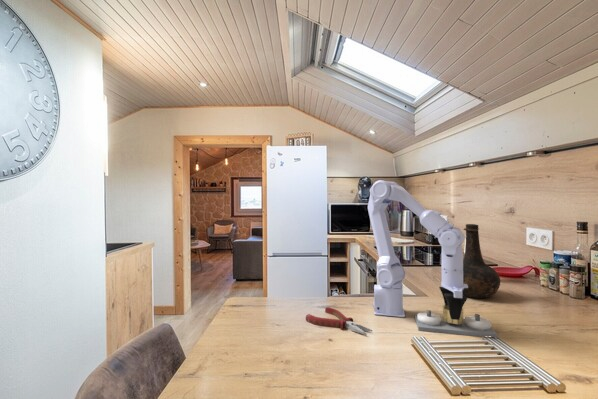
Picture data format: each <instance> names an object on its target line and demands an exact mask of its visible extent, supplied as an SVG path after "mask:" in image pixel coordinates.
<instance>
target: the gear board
mask: <svg viewBox="0 0 598 399" xmlns="http://www.w3.org/2000/svg"><path fill="white" fill-rule="evenodd" d="M414 320H415V324H416V325H417V330H418V331H421V332H428V333H429V332H431V333H440V334H441V333H442V334H451V335H460V336H461V335H462V336H471V337H483V338H486V337H485V336H491V337H496V338H495V339H499V334H498V333H497V332H496V331H495V329H494V328H492V326H491V325H492V324H491V321H490V320H488V319H487V318H484V317H481V315H480V314H478V313H475V314H474V315H473V316H472V315H469V316H464V322H463V323H462V324H453V323H448V322H446V321H444V320H443V319H442V316H440V315H439V314H436V313H433V312H432V311H431V309H430V310H429V309H426V311H425V312H424V311H423V312H419V313H417V314H414Z"/></svg>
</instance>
